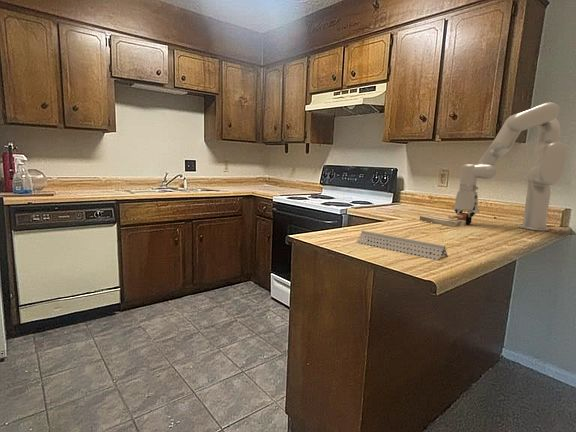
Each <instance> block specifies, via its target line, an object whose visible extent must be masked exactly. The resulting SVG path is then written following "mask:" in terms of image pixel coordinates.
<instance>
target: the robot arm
mask: <svg viewBox="0 0 576 432" xmlns="http://www.w3.org/2000/svg"><path fill="white" fill-rule="evenodd" d="M559 114H560V106H559V105H558V104H557V103H555V102H550V101H549V102H544V103H541V104H539V105H536V106H534V107H532V108H529V109H526V110H524V111H520V112H518V113H517V112H516V113H514V114H512V115H510V116H509V117H508V118H507V119H506V120H505V121H504V123H503V125H502V127H501V128H500V129H499V131H498V133H497V135H496V137H495V138H494V139H493V141H492V143H491V144H490V145H489V147H488V148H487V149H486V151H485V152H484V153H483V155H482V156H481V157H480V159H479V160H478V162H477V164H475V163H472V164H471V163H465V164H462V165H461V170H460V179H459V187H458V188H459V189H458V191H457V193H456V197H455V201H454V205H453V207H452V210H453V211H454V212H455V213H456V215H458V213H464V212H463V211H467V212H466V213H468V217H467V218H466V224H467V225H471V223H472V218H473V217H474V216H475V215H476V214H478V213H480V210H479V208H478V207H479V196H478V195H479V194H478V192H477V190H479V187H478V186H477V180H478V179H482V180H490V179H493V178H495V176H496V175H497V169H496V167H495V165H496V163H497V162H498V161H499V159H501V157H503V156H505V154H506V153H509V151H510V150H511V149H512V148H513V145H514V144H515V142H516V140H517V139H518V137H519V136H520V134H521V133H522V132H523V131H526V130H529V129H532V128H535V127H536V128H537V130H538V131H537V132H538V133H537V134H538V135H537V141H536V145H535V149H534V158H535V160H537V161H538V162H541V163H540V164H538V165H534V166H533V167H531V168H529V171H528V172H527V176H526V179H527V184H526V185H527V186H526V187H527V190H526V198H525V203H524V211H523V212H524V213H523V219H522V220H523V221H522V224H521V223H520V224H519V225H518V228H520V229H523V230H528V231H529V230H530V231H540V232H541V231H543V232H548V231H550V227H549V226H547V225H548V223H549V221H548V220H547V219H548V213H549V205H550V198H551V190H552V189H551V186H554V185H556V184H558V183H559V182H560V180H561V179H562V177H563V175H564V170H565V165H566V161H567V157H568V150H567V146H566V145H565V143H563V142H561V141H560V136H561V125H560V124H561V123H560V122H559V120H558V118H557V117H558V115H559ZM456 219H458V218H456Z"/></svg>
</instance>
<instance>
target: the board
mask: <svg viewBox="0 0 576 432" xmlns="http://www.w3.org/2000/svg"><path fill="white" fill-rule="evenodd" d="M420 220H422V221H421V222H424V221H427V222H426V223H429V222H432V223H431V224H435V223H436V224H435V225H440V224H441V225H440V226H445V225H446V226H447V227H451V228H455V227H464V226H466V221H464V220H458V219H457V218H455V219H449V218H448V217H447V216H446V217H445V216H440V215H439V216H438V215H432V214H430V215H421V216H419V221H420ZM446 226H445V227H446Z"/></svg>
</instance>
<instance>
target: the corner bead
mask: <svg viewBox="0 0 576 432" xmlns="http://www.w3.org/2000/svg"><path fill="white" fill-rule="evenodd" d="M368 240H369V241H368ZM377 242H378V243H377ZM355 243H356V244H358V243H360V244H359V245H362V244H364V246H367V245H369V247H372V248H376V247H377V248H376V249H381V248H382V250H386V251H390V250H391V251H392V252H395V251H396V252H395V253H399V252H400V254H404V255H409V256H415V257H419V258H423V259H429V260H433V261H439V260H440V259H441V257H447V258H448V257H449V256H448V253H447V249H446V245H443V244H437V243H432V242H427V241H421V240H415V239H410V238H405V237H401V236H394V235H391V234H390V235H389V234H384V233H379V232H374V231H369V230H368V231H367V230H361V233H360V235H359V236H358V239H357V240H356V242H355ZM387 244H388V245H387ZM397 246H398V247H397Z"/></svg>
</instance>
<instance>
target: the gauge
mask: <svg viewBox="0 0 576 432" xmlns="http://www.w3.org/2000/svg"><path fill="white" fill-rule="evenodd" d="M467 217H468V212H462V213H458V215H457V214H456V215H448V216H447V218H449V219H457V218H458V220H464V221H466V218H467ZM466 225H467V224H466ZM466 225H465V226H466Z"/></svg>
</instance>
